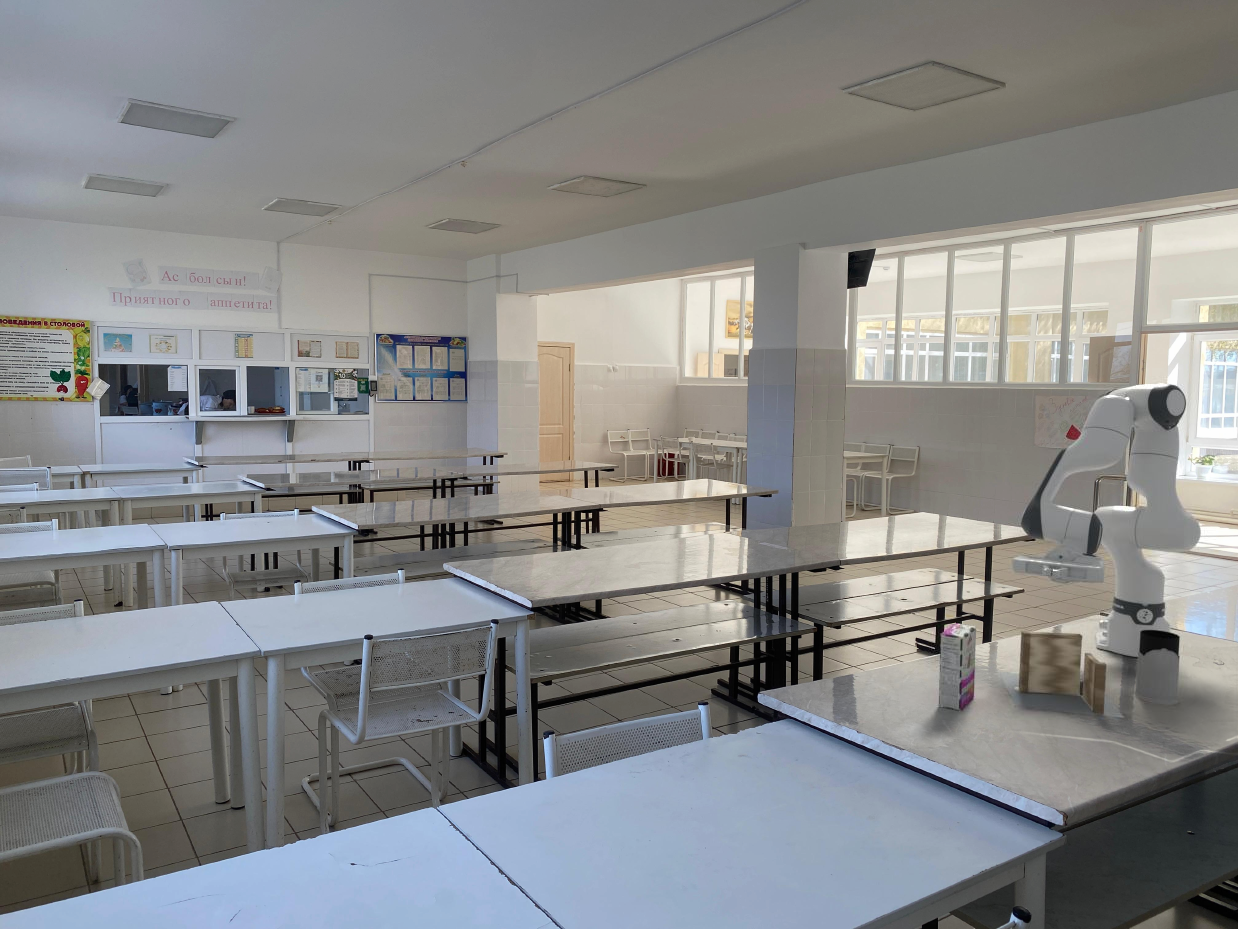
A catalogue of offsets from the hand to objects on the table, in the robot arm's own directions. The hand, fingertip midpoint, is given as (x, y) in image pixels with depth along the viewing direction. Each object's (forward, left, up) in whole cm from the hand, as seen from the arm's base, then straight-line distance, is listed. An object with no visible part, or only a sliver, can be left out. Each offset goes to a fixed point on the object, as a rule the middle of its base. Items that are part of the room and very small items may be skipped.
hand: (1051, 573), depth 201 cm
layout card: (+11, 0, -26) cm, 28 cm away
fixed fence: (+16, +6, -26) cm, 31 cm away
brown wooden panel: (+11, -2, -25) cm, 28 cm away
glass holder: (+4, +21, -26) cm, 34 cm away
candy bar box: (+23, -22, -26) cm, 41 cm away
